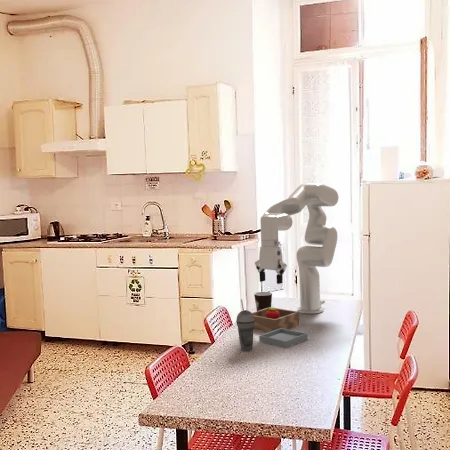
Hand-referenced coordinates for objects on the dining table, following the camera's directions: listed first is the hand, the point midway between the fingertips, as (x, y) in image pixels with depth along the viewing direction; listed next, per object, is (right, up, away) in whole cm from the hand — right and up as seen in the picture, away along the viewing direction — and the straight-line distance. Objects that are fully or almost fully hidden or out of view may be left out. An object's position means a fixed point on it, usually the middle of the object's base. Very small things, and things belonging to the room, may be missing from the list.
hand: (271, 282), depth 261 cm
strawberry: (+1, -20, +2) cm, 20 cm away
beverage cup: (-12, -24, -30) cm, 40 cm away
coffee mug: (-1, -18, +27) cm, 32 cm away
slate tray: (+4, -22, -20) cm, 29 cm away
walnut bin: (+1, -20, +2) cm, 20 cm away
